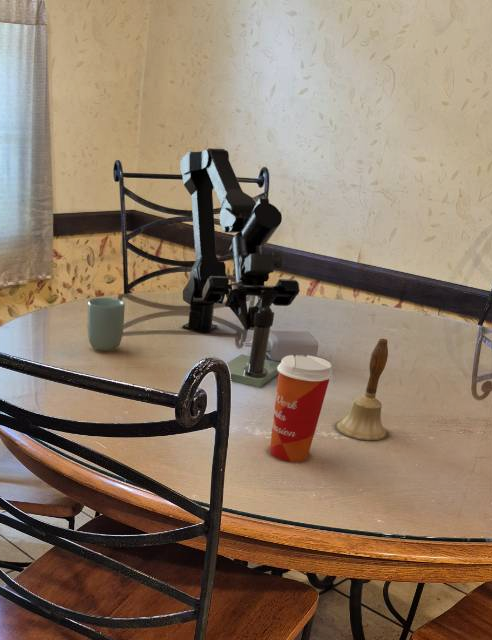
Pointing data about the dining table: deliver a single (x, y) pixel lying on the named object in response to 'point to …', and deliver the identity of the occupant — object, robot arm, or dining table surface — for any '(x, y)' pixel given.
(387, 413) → the dining table surface
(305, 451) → the coffee cup
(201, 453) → the dining table surface
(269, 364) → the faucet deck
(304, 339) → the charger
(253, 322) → the spout
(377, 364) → the hand bell
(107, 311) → the cup
